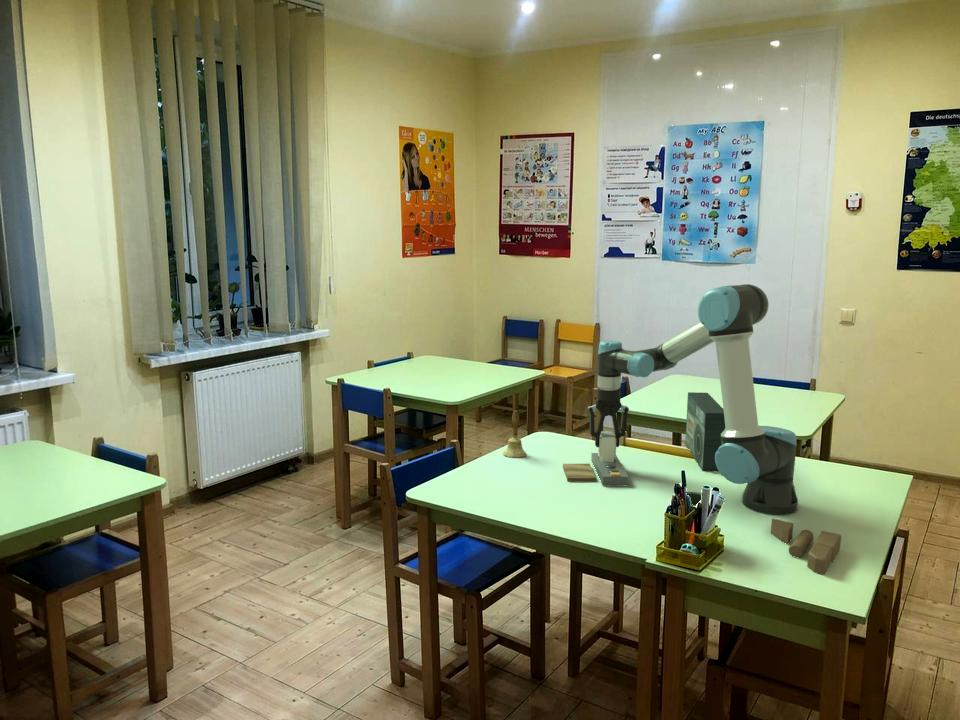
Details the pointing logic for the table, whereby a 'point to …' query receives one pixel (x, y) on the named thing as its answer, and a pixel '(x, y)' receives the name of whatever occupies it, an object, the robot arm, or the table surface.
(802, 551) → the wooden block set
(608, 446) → the block
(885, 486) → the table surface
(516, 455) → the hand bell
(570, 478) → the walnut board
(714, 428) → the cassette player
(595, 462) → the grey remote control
